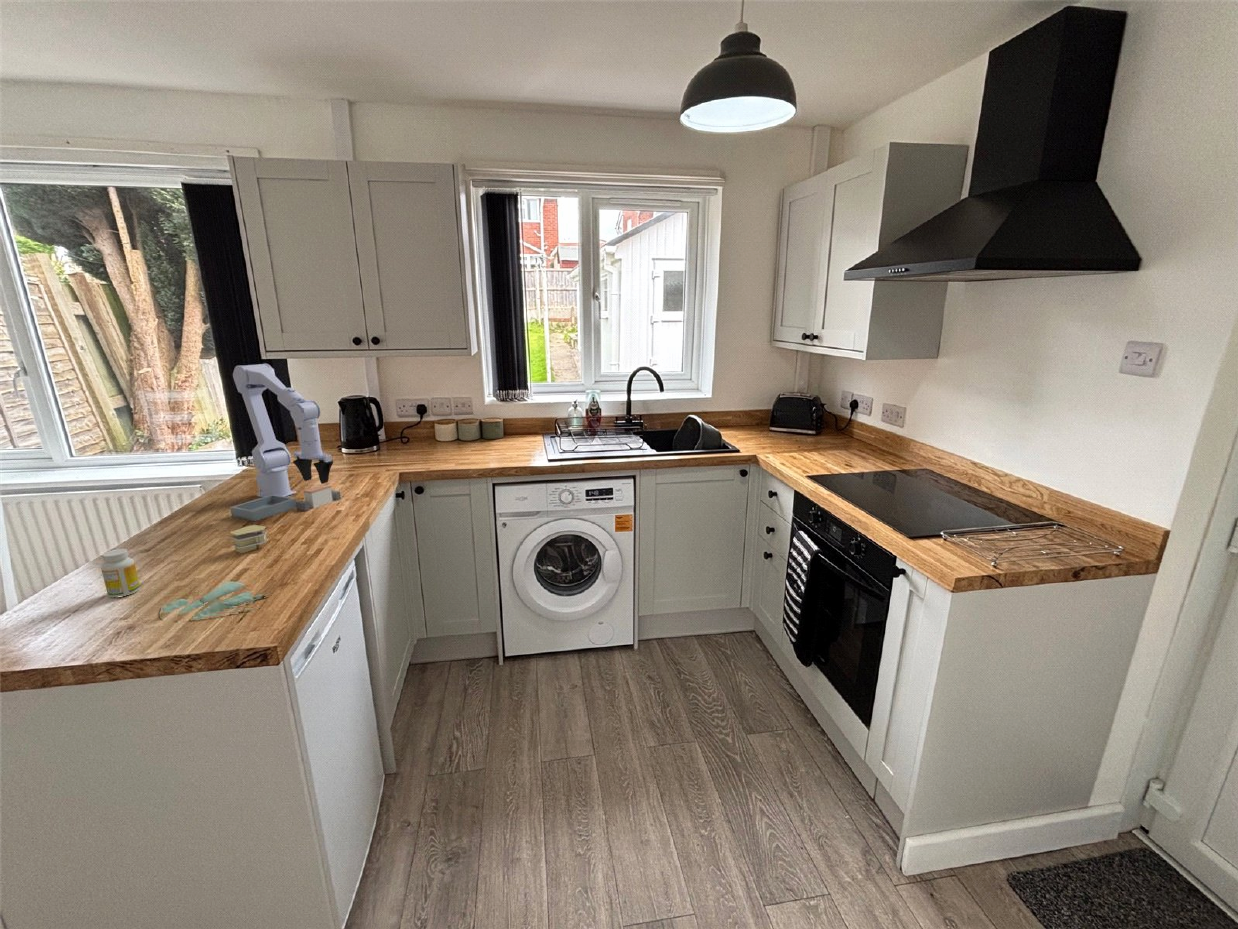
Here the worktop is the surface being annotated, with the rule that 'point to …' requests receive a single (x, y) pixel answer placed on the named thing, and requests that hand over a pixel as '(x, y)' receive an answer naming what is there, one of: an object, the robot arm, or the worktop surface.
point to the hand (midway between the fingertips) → (316, 481)
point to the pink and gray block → (318, 495)
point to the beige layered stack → (248, 538)
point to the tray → (263, 507)
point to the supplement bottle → (119, 573)
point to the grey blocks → (305, 505)
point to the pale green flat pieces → (214, 606)
